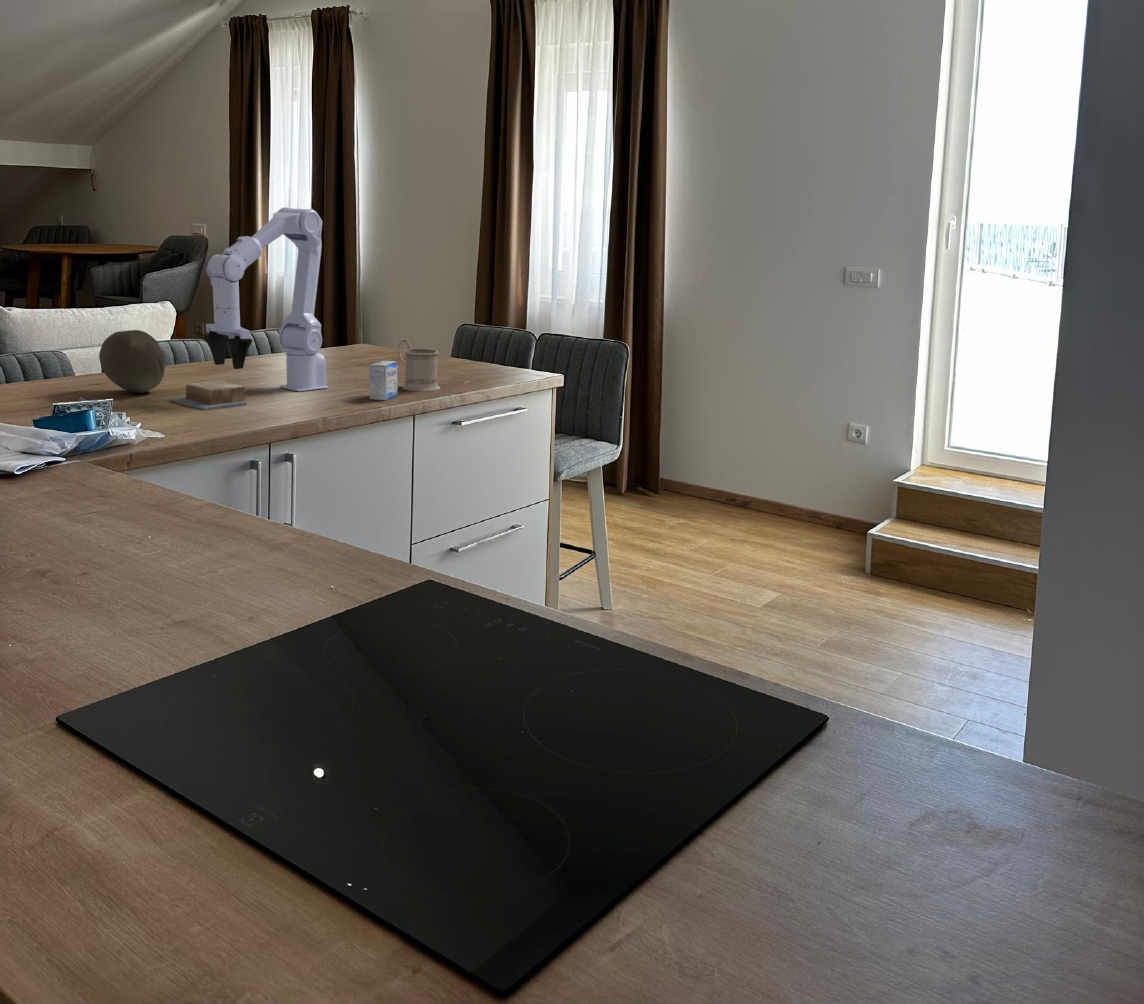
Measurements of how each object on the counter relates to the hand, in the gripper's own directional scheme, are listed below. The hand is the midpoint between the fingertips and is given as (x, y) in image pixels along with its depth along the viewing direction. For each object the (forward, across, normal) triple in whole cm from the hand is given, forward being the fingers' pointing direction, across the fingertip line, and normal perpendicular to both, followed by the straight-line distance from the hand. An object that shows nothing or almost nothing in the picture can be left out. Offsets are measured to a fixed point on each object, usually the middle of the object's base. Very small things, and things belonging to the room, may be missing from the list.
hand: (228, 366), depth 260 cm
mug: (+8, +12, +48) cm, 50 cm away
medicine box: (+8, +19, +31) cm, 37 cm away
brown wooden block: (+6, 0, +1) cm, 6 cm away
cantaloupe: (+8, -21, -12) cm, 26 cm away
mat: (+8, 0, -6) cm, 10 cm away
